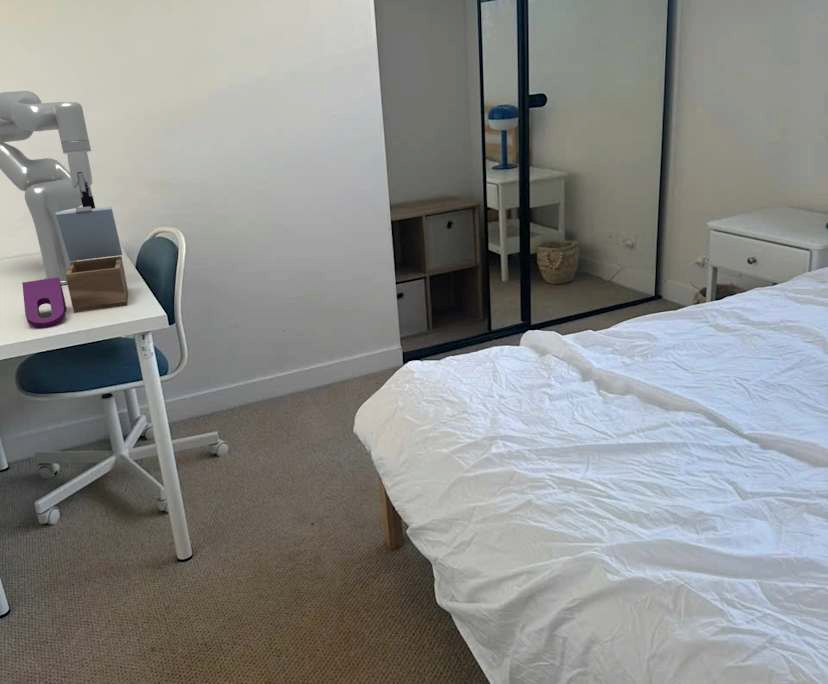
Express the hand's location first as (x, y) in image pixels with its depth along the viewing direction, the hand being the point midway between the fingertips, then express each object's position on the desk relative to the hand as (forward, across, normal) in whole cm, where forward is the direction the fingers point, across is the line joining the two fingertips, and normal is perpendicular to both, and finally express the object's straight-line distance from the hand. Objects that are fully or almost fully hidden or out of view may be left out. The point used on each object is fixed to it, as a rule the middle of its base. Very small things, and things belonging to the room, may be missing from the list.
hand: (89, 210), depth 221 cm
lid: (+6, +11, 0) cm, 13 cm away
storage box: (+25, +14, 0) cm, 29 cm away
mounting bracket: (+25, +25, -14) cm, 38 cm away
